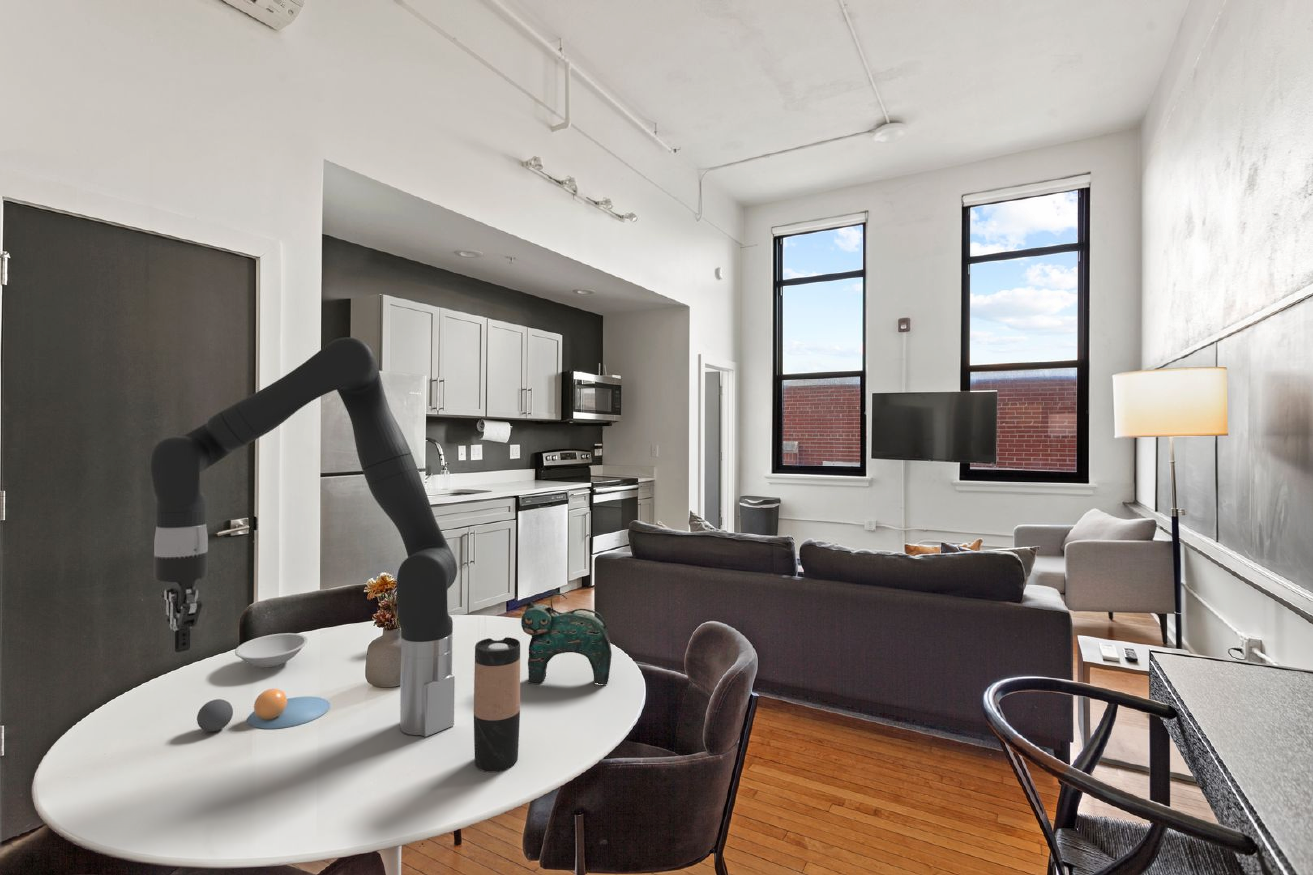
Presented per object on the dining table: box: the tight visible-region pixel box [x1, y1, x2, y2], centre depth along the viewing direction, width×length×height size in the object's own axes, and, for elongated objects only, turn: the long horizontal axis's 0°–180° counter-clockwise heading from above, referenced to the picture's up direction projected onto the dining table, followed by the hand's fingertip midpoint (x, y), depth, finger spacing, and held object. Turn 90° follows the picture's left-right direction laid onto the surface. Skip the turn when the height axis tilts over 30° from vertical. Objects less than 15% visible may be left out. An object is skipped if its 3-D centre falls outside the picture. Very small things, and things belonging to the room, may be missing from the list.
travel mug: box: [473, 636, 521, 773], centre depth 110 cm, size 8×8×20 cm
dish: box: [234, 632, 309, 668], centre depth 151 cm, size 18×14×5 cm
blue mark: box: [247, 696, 331, 730], centre depth 127 cm, size 14×14×1 cm
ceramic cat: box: [520, 592, 613, 684], centre depth 145 cm, size 20×6×20 cm, turn 87°
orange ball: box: [253, 688, 288, 720], centre depth 124 cm, size 6×6×6 cm
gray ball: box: [196, 698, 234, 732], centre depth 119 cm, size 6×6×6 cm
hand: (181, 650), depth 113 cm, fingers closed
